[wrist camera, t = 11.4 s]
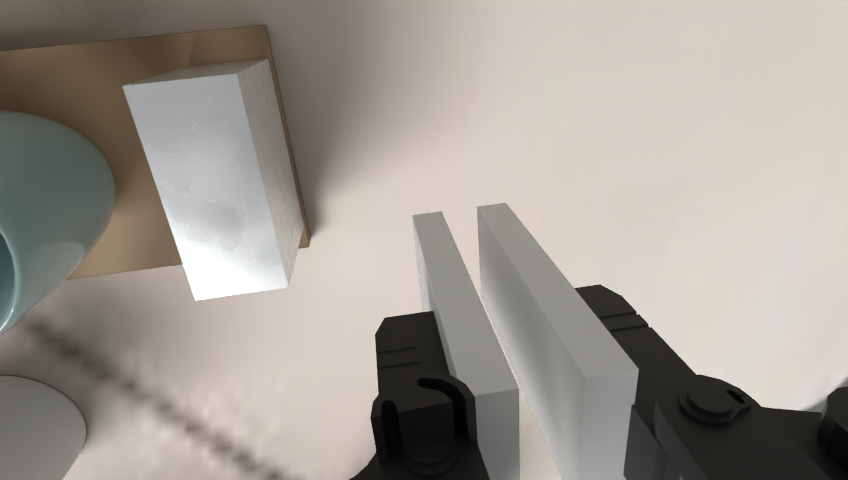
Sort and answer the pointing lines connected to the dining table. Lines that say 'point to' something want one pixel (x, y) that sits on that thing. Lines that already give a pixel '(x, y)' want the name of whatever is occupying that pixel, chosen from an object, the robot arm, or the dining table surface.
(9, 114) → the cup
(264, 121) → the bookend
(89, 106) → the caddy
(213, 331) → the dining table surface
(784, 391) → the dining table surface
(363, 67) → the dining table surface
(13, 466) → the mug
